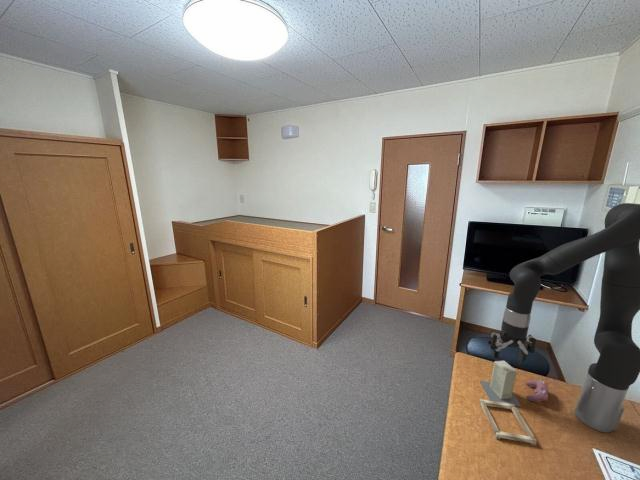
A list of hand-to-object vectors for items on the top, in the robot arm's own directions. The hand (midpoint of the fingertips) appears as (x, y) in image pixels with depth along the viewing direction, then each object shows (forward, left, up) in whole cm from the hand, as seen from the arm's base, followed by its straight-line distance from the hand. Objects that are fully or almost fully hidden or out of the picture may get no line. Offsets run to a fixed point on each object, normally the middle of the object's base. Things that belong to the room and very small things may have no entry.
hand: (508, 359), depth 96 cm
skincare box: (0, 0, -16) cm, 16 cm away
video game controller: (-13, -2, -16) cm, 21 cm away
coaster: (0, 0, -16) cm, 16 cm away
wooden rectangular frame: (+4, +13, -16) cm, 21 cm away
